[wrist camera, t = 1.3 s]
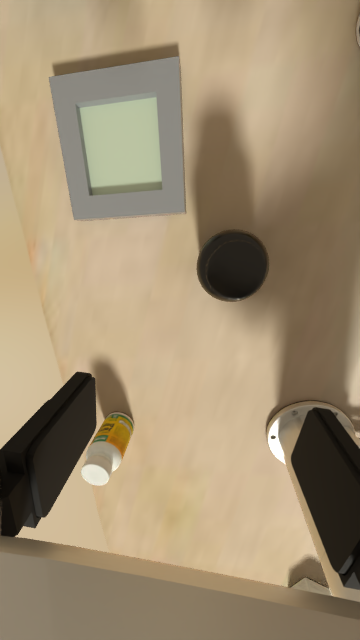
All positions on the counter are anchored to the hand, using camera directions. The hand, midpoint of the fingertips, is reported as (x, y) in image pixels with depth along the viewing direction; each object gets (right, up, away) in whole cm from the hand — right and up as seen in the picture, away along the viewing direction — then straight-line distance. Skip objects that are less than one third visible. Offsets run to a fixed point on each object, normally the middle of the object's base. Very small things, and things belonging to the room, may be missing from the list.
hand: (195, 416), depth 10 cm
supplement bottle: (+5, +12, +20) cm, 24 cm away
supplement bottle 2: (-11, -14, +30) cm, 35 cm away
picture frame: (-7, +24, +17) cm, 30 cm away
